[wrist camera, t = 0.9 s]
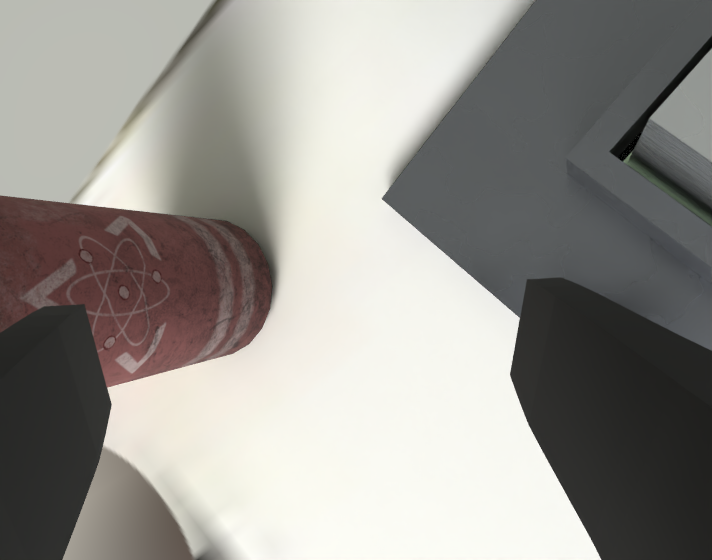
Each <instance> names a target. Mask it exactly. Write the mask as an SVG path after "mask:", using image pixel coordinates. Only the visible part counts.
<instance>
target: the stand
mask: <svg viewBox="0 0 712 560" xmlns="http://www.w3.org/2000/svg"><path fill="white" fill-rule="evenodd" d="M711 49H712V0H536V1H535V2H534V3H533V5H532V6H531V7H530V9H529V10H528V11H527V12H526V14H525V15H524V16H523V18H522V19H521V20H520V21H519V23H518V24H517V25H516V27H515V28H514V29H513V30H512V32H511V33H510V34H509V36H508V37H507V38H506V39H505V41H504V42H503V43H502V45H501V46H500V47H499V48H498V50H497V51H496V52H495V54H494V55H493V56H492V57H491V59H490V60H489V61H488V63H487V64H486V65H485V66H484V68H483V69H482V70H481V72H480V73H479V74H478V75H477V77H476V78H475V79H474V81H473V82H472V83H471V84H470V86H469V87H468V88H467V90H466V91H465V92H464V93H463V95H462V96H461V97H460V99H459V100H458V101H457V102H456V104H455V105H454V106H453V108H452V109H451V110H450V111H449V113H448V114H447V115H446V117H445V118H444V119H443V120H442V122H441V123H440V124H439V126H438V127H437V128H436V129H435V131H434V132H433V133H432V135H431V136H430V137H429V138H428V140H427V141H426V142H425V144H424V145H423V146H422V147H421V149H420V150H419V151H418V153H417V154H416V155H415V156H414V158H413V159H412V160H411V162H410V163H409V164H408V165H407V167H406V168H405V169H404V171H403V172H402V173H401V174H400V176H399V177H398V178H397V180H396V181H395V182H394V183H393V185H392V186H391V187H390V189H389V190H388V191H387V192H386V194H385V195H384V196H383V198H382V200H384V201H385V202H386V203H387V204H388V205H389V206H391V207H392V208H393V209H394V210H395V211H396V212H398V213H399V214H400V215H401V216H402V217H403V218H405V219H406V220H407V221H408V222H409V223H410V224H412V225H413V226H414V227H415V228H416V229H417V230H418V231H420V232H421V233H422V234H423V235H424V236H425V237H427V238H428V239H429V240H430V241H431V242H432V243H434V244H435V245H436V246H437V247H438V248H439V249H441V250H442V251H443V252H444V253H445V254H446V255H448V256H449V257H450V258H451V259H452V260H453V261H454V262H456V263H457V264H458V265H459V266H460V267H461V268H463V269H464V270H465V271H466V272H467V273H468V274H470V275H471V276H472V277H473V278H474V279H475V280H477V281H478V282H479V283H480V284H481V285H482V286H484V287H485V288H486V289H487V290H488V291H489V292H491V293H492V294H493V295H494V296H495V297H496V298H497V299H499V300H500V301H501V302H502V303H503V304H504V305H506V306H507V307H508V308H509V309H510V310H511V311H513V312H514V313H515V314H516V315H517V316H518V317H520V316H521V310H522V304H523V299H524V293H525V287H526V282H527V279H542V278H559V277H561V278H564V279H567V280H569V281H572V282H574V283H577V284H579V285H581V286H583V287H586V288H588V289H590V290H592V291H594V292H596V293H598V294H600V295H602V296H604V297H606V298H608V299H610V300H612V301H614V302H616V303H618V304H620V305H622V306H623V307H625V308H627V309H629V310H631V311H633V312H635V313H637V314H639V315H641V316H643V317H645V318H647V319H649V320H651V321H653V322H655V323H657V324H659V325H661V326H662V327H664V328H666V329H668V330H670V331H672V332H674V333H676V334H678V335H680V336H682V337H684V338H687V339H689V340H691V341H693V342H695V343H697V344H699V345H701V346H703V347H705V348H707V349H709V350H711V351H712V226H710V225H709V224H707V223H706V222H705V221H703V220H702V219H701V218H699V217H698V216H696V215H695V214H694V213H692V212H691V211H690V210H688V209H687V208H685V207H684V206H683V205H681V204H680V203H679V202H677V201H676V200H674V199H673V198H672V197H670V196H669V195H668V194H666V193H665V192H664V191H662V190H661V189H659V188H658V187H657V186H655V185H654V184H653V183H651V182H650V181H648V180H647V179H646V178H644V177H643V176H642V175H640V174H639V173H637V172H636V171H635V170H633V169H632V168H631V167H629V166H628V165H626V164H625V163H624V162H622V161H621V160H620V159H618V157H619V156H620V155H621V153H622V152H623V151H624V150H625V149H626V148H627V147H628V146H629V144H630V143H631V142H632V141H633V140H634V139H635V138H636V137H637V136H638V134H639V133H640V132H641V131H642V130H643V129H644V128H645V126H646V124H647V122H648V120H649V118H650V117H651V116H652V115H653V114H654V113H655V111H656V110H657V109H658V108H659V107H660V106H661V105H662V104H663V102H664V101H665V100H666V99H667V98H668V97H669V96H670V95H671V93H672V92H673V91H674V90H675V89H676V88H677V87H678V86H679V85H680V83H681V82H682V81H683V80H684V79H685V78H686V77H687V76H688V74H689V73H690V72H691V71H692V70H693V69H694V68H695V67H696V65H697V64H698V63H699V62H700V61H701V60H702V59H703V58H704V57H705V55H706V54H707V53H708V52H709V51H710V50H711Z"/></svg>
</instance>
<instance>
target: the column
mask: <svg viewBox="0 0 712 560" xmlns="http://www.w3.org/2000/svg"><path fill="white" fill-rule="evenodd" d="M623 162H624V163H625V164H626V165H628V166H629V167H631V168H632V169H633V170H635V171H636V172H637V173H639V174H640V175H642V176H643V177H644V178H646V179H647V180H648V181H650V182H651V183H653V184H654V185H655V186H657V187H658V188H659V189H661V190H662V191H664V192H665V193H666V194H668V195H669V196H670V197H672V198H673V199H674V200H676V201H677V202H679V203H680V204H681V205H683V206H684V207H685V208H687V209H688V210H690V211H691V212H692V213H694V214H695V215H696V216H698V217H699V218H701V219H702V220H703V221H705V222H706V223H707V224H709V225H710V226H712V49H711V50H710V51H709V52H708V53H707V54H706V55H705V57H704V58H703V59H702V60H701V61H700V62H699V63H698V64H697V65H696V67H695V68H694V69H693V70H692V71H691V72H690V73H689V74H688V76H687V77H686V78H685V79H684V80H683V81H682V82H681V83H680V85H679V86H678V87H677V88H676V89H675V90H674V91H673V92H672V93H671V95H670V96H669V97H668V98H667V99H666V100H665V101H664V102H663V104H662V105H661V106H660V107H659V108H658V109H657V110H656V111H655V113H654V114H653V115H652V116H651V117H650V118H649V120H648V122H647V124H646V126H645V128H644V130H643V132H642V134H641V136H640V138H639V140H638V142H637V144H636V146H635V148H634V150H633V151H632V152H631V153H630V154H629V155H628V157H627V158H626V159H625V160H624V161H623Z"/></svg>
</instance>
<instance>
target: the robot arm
mask: <svg viewBox="0 0 712 560" xmlns="http://www.w3.org/2000/svg"><path fill="white" fill-rule="evenodd" d="M510 376H511V379H512V382H513V384H514V387H515V390H516V393H517V396H518V398H519V401H520V404H521V406H522V409H523V411H524V414H525V416H526V419H527V422H528V424H529V426H530V428H531V430H532V432H533V434H534V436H535V438H536V440H537V441H538V443H539V445H540V447H541V449H542V451H543V453H544V454H545V456H546V458H547V460H548V462H549V464H550V466H551V467H552V469H553V471H554V473H555V475H556V476H557V478H558V480H559V482H560V484H561V485H562V487H563V489H564V491H565V493H566V494H567V496H568V498H569V500H570V502H571V504H572V505H573V507H574V509H575V511H576V513H577V514H578V516H579V518H580V520H581V522H582V524H583V525H584V527H585V529H586V531H587V533H588V534H589V536H590V538H591V540H592V542H593V544H594V546H595V548H596V550H597V552H598V554H599V556H600V558H601V560H712V351H711V350H709V349H707V348H705V347H703V346H701V345H699V344H697V343H695V342H693V341H691V340H689V339H687V338H684V337H682V336H680V335H678V334H676V333H674V332H672V331H670V330H668V329H666V328H664V327H662V326H661V325H659V324H657V323H655V322H653V321H651V320H649V319H647V318H645V317H643V316H641V315H639V314H637V313H635V312H633V311H631V310H629V309H627V308H625V307H623V306H622V305H620V304H618V303H616V302H614V301H612V300H610V299H608V298H606V297H604V296H602V295H600V294H598V293H596V292H594V291H592V290H590V289H588V288H586V287H583V286H581V285H579V284H577V283H574V282H572V281H569V280H567V279H564V278H561V277H559V278H542V279H527V282H526V287H525V293H524V299H523V304H522V310H521V316H520V321H519V327H518V333H517V338H516V344H515V350H514V355H513V361H512V367H511V372H510ZM111 405H112V404H111V401H110V397H109V393H108V390H107V386H106V382H105V378H104V375H103V371H102V367H101V364H100V360H99V356H98V352H97V349H96V345H95V341H94V338H93V334H92V330H91V326H90V323H89V319H88V315H87V312H86V308H85V304H78V305H61V306H44V307H42V308H40V309H38V310H36V311H34V312H32V313H31V314H29V315H27V316H26V317H24V318H22V319H21V320H19V321H18V322H16V323H15V324H13V325H11V326H10V327H8V328H7V329H5V330H4V331H2V332H1V333H0V560H62V559H63V556H64V554H65V551H66V548H67V546H68V543H69V541H70V538H71V535H72V533H73V530H74V528H75V525H76V522H77V519H78V517H79V514H80V511H81V509H82V506H83V504H84V501H85V498H86V496H87V493H88V490H89V487H90V485H91V482H92V479H93V477H94V474H95V471H96V468H97V465H98V463H99V459H100V455H101V451H102V447H103V442H104V438H105V434H106V429H107V424H108V419H109V415H110V410H111Z"/></svg>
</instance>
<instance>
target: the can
mask: <svg viewBox="0 0 712 560" xmlns="http://www.w3.org/2000/svg"><path fill="white" fill-rule="evenodd" d="M271 292H272V283H271V277H270V272H269V267H268V263H267V261H266V259H265V257H264V255H263V253H262V251H261V249H260V247H259V245H258V244H257V243H256V242H255V241H254V240H253V239H252V238H251V236H250V235H249V234H248V233H247V232H246V231H245V230H244V229H242V228H240V227H238V226H236V225H234V224H232V223H230V222H228V221H222V220H213V219H204V218H195V217H186V216H177V215H168V214H159V213H150V212H142V211H133V210H124V209H115V208H106V207H97V206H88V205H79V204H70V203H60V202H52V201H43V200H34V199H25V198H16V197H8V196H0V333H1V332H2V331H4V330H5V329H7V328H8V327H10V326H11V325H13V324H15V323H16V322H18V321H19V320H21V319H22V318H24V317H26V316H27V315H29V314H31V313H32V312H34V311H36V310H38V309H40V308H42V307H44V306H61V305H78V304H85V308H86V312H87V315H88V319H89V323H90V326H91V330H92V334H93V338H94V341H95V345H96V349H97V352H98V356H99V360H100V364H101V367H102V371H103V375H104V378H105V382H106V386H107V387H111V386H114V385H118V384H122V383H125V382H129V381H133V380H137V379H140V378H144V377H148V376H151V375H155V374H159V373H163V372H166V371H170V370H174V369H177V368H181V367H185V366H189V365H192V364H196V363H200V362H203V361H207V360H211V359H215V358H218V357H222V356H226V355H229V354H233V353H235V352H236V351H238V350H240V349H241V348H243V347H245V346H246V345H248V344H250V342H251V341H252V340H253V339H254V337H255V336H256V335H257V334H258V333H259V331H260V330H261V329H262V327H263V325H264V322H265V320H266V317H267V315H268V312H269V310H270V303H271Z"/></svg>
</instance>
